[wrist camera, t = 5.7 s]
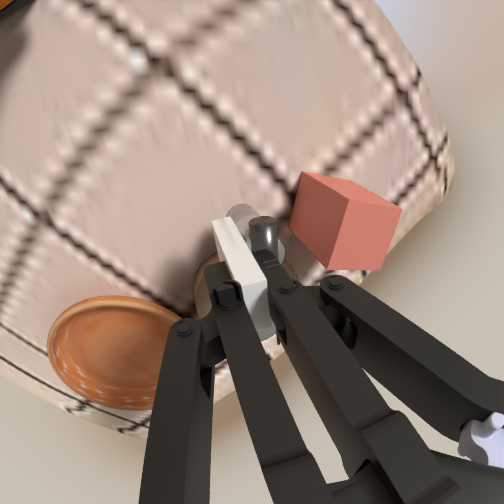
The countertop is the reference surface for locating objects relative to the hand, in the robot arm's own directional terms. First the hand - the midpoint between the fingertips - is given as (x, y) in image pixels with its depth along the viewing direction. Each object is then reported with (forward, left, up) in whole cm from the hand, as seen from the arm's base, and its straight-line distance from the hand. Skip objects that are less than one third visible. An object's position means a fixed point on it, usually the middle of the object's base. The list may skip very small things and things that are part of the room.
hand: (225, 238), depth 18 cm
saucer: (-7, -15, -6) cm, 18 cm away
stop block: (+9, +1, -6) cm, 11 cm away
